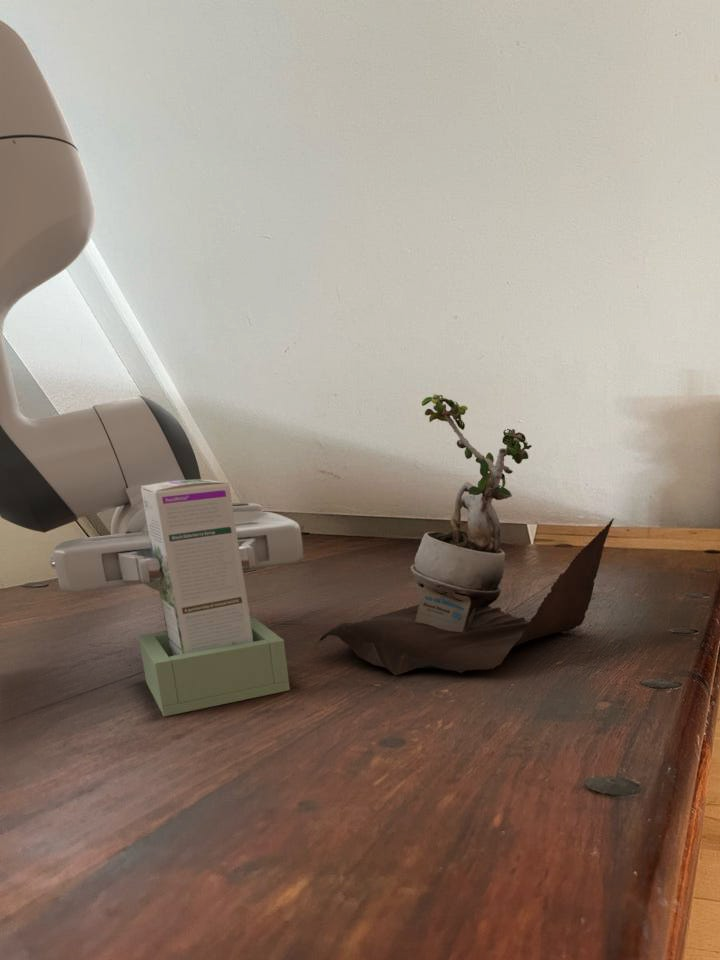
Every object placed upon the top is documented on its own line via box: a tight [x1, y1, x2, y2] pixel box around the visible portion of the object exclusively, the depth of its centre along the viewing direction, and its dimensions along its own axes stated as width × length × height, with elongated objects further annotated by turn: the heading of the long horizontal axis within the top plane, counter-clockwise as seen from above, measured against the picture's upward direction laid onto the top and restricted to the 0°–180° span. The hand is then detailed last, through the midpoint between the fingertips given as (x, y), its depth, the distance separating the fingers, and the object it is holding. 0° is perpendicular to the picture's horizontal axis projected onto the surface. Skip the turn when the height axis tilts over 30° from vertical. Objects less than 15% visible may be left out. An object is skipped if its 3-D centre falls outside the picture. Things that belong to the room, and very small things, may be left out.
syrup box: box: [141, 478, 253, 656], centre depth 62 cm, size 6×6×14 cm
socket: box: [137, 616, 291, 717], centre depth 64 cm, size 10×10×4 cm
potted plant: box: [315, 393, 615, 676], centre depth 72 cm, size 20×19×25 cm
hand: (200, 564), depth 61 cm, fingers closed on syrup box, 6 cm apart
